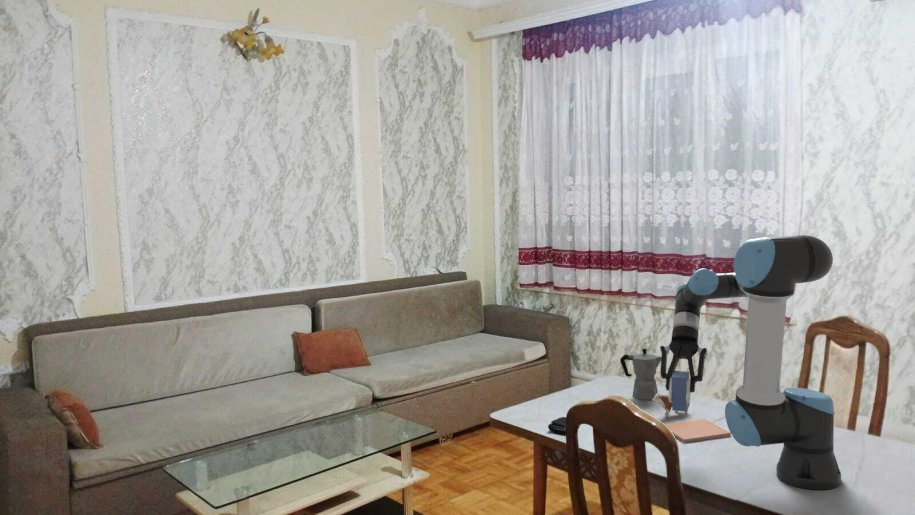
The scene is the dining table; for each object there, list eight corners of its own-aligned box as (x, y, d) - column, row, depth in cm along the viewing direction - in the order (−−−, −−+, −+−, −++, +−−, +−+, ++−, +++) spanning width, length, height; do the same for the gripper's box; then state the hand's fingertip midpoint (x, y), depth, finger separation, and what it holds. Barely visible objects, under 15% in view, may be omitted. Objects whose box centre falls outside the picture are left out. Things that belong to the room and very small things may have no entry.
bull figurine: (650, 415, 236) (650, 392, 235) (684, 410, 240) (684, 387, 239) (658, 419, 232) (657, 395, 231) (692, 413, 236) (692, 390, 235)
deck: (687, 411, 198) (686, 377, 197) (672, 410, 200) (671, 376, 198) (689, 404, 203) (689, 371, 202) (675, 403, 205) (674, 370, 204)
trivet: (730, 435, 214) (730, 432, 214) (684, 442, 210) (684, 439, 210) (704, 421, 228) (704, 418, 228) (660, 427, 224) (660, 424, 224)
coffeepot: (663, 393, 260) (662, 345, 258) (664, 400, 251) (663, 351, 249) (621, 391, 264) (620, 345, 262) (620, 399, 255) (619, 351, 253)
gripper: (716, 338, 209) (712, 409, 197) (658, 335, 217) (649, 404, 204) (714, 325, 204) (709, 397, 191) (654, 322, 211) (646, 392, 199)
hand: (678, 400), depth 198 cm, fingers closed on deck, 4 cm apart
